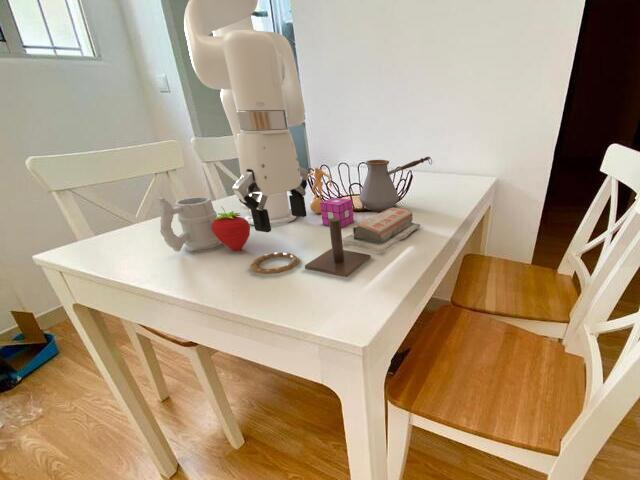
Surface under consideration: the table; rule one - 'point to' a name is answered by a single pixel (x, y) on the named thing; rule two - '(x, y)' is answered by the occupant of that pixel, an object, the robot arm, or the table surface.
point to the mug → (189, 223)
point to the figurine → (318, 176)
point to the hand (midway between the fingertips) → (282, 223)
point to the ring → (274, 270)
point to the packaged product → (382, 230)
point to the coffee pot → (382, 185)
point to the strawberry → (231, 230)
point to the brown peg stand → (337, 255)
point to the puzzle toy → (337, 211)
